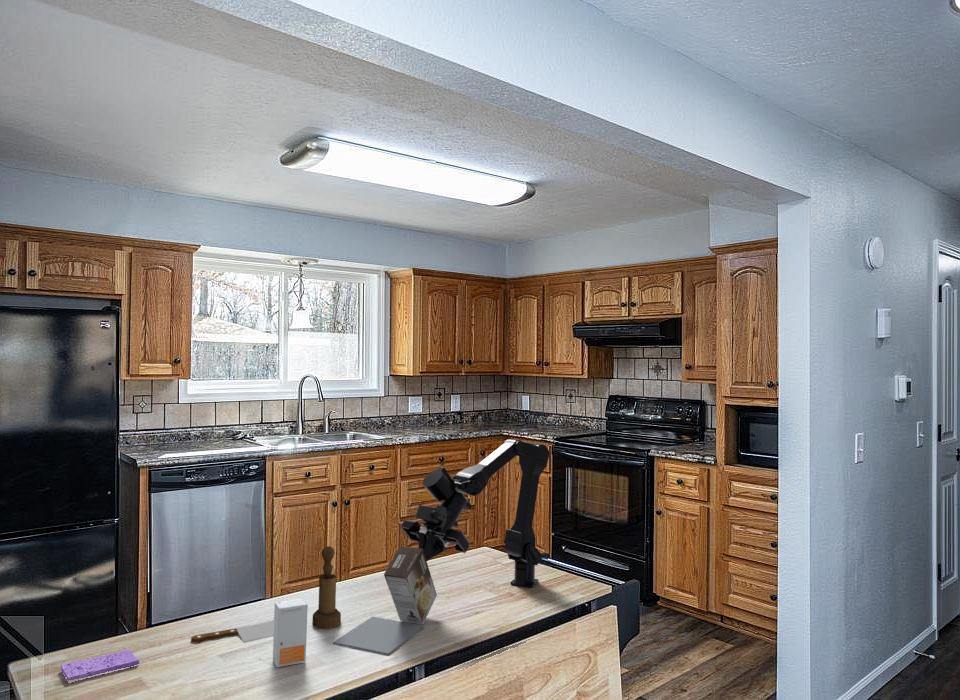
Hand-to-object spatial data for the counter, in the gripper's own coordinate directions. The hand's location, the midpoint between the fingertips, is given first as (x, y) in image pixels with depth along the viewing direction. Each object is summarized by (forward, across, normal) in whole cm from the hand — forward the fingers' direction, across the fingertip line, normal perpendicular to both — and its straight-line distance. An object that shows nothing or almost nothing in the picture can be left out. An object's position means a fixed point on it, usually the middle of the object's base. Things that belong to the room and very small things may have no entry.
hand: (417, 564), depth 164 cm
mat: (+18, +1, +1) cm, 18 cm away
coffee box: (+7, 0, +8) cm, 11 cm away
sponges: (+53, -31, -31) cm, 68 cm away
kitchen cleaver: (+32, -23, -11) cm, 40 cm away
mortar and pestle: (+21, -14, -1) cm, 25 cm away
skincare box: (+34, -4, -14) cm, 37 cm away
